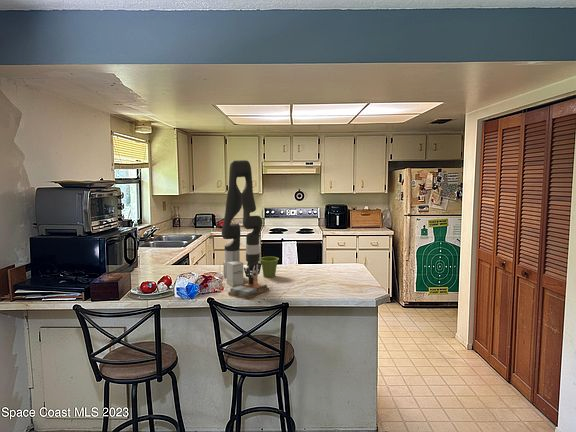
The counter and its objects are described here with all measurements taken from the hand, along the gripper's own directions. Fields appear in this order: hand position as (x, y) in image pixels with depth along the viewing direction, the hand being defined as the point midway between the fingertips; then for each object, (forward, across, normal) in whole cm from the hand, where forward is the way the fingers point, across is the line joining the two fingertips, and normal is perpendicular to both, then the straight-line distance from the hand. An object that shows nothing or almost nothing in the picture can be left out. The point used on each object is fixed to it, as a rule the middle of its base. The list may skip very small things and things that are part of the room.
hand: (252, 283), depth 219 cm
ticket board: (+4, +4, 0) cm, 6 cm away
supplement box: (+5, -6, -17) cm, 19 cm away
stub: (+3, +1, 0) cm, 3 cm away
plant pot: (+4, -30, -9) cm, 32 cm away
